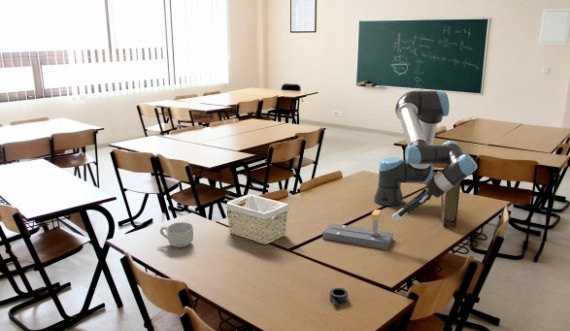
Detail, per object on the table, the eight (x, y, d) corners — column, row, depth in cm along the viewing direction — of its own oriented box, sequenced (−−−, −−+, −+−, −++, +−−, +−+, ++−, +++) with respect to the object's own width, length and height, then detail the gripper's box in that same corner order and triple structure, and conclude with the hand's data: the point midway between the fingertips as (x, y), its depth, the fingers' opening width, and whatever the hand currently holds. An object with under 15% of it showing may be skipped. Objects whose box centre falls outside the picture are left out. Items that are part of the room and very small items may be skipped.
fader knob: (380, 232, 203) (381, 210, 200) (377, 237, 198) (378, 215, 195) (373, 231, 204) (374, 209, 202) (369, 236, 199) (371, 214, 196)
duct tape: (319, 300, 157) (319, 293, 156) (339, 290, 163) (340, 282, 162) (337, 310, 151) (337, 302, 150) (357, 299, 158) (357, 291, 157)
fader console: (392, 239, 204) (393, 232, 203) (387, 249, 194) (387, 242, 194) (330, 229, 215) (330, 223, 214) (322, 238, 205) (322, 231, 204)
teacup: (198, 241, 202) (197, 223, 200) (185, 251, 192) (184, 233, 190) (170, 237, 206) (169, 219, 204) (155, 247, 196) (154, 229, 194)
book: (439, 215, 233) (443, 165, 226) (451, 216, 232) (456, 166, 225) (443, 227, 217) (448, 175, 211) (456, 228, 216) (461, 175, 210)
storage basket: (225, 233, 211) (224, 201, 207) (250, 222, 223) (249, 192, 219) (265, 247, 196) (265, 214, 193) (290, 235, 209) (290, 203, 205)
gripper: (434, 173, 191) (390, 206, 202) (431, 181, 180) (384, 216, 190) (447, 187, 191) (402, 220, 201) (444, 196, 179) (397, 231, 190)
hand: (394, 218), depth 196 cm, fingers closed
